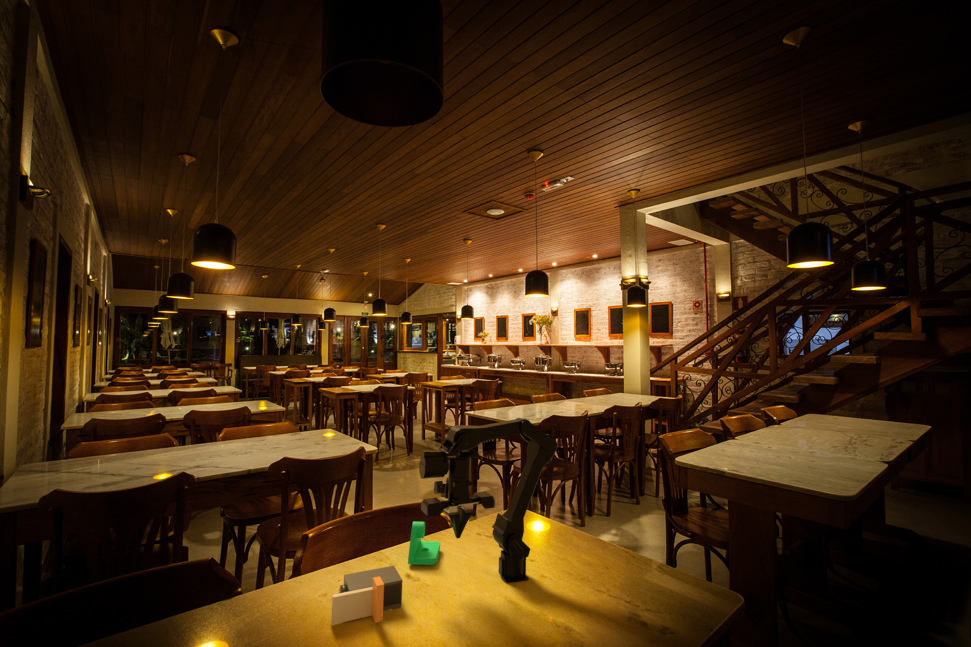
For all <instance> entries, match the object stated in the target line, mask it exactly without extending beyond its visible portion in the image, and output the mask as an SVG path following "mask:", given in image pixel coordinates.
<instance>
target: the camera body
mask: <svg viewBox="0 0 971 647" xmlns="http://www.w3.org/2000/svg"><path fill="white" fill-rule="evenodd" d="M379 576H380V577H381V579H382V581H383V583H384V600H383V612H385V611H390V610H394V609H399V608H402V604H403V578H402V577H401V575H400V573H399V572H398V569H397V568H396V567H395V565H388V566H384V567H379V568H373V569H368V570H362V571H357V572H351V573H346V574H343V584H340V585H339V589H338V590H339V592H338V594H339V593H344V592H349V591H354V590H359V589H363V588H368V587H372V586H373V578H374V577H379Z"/></svg>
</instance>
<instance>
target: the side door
mask: <svg viewBox="0 0 971 647" xmlns="http://www.w3.org/2000/svg"><path fill="white" fill-rule="evenodd" d="M383 600H384V583H383V581H382V579H381V577H380V576H379V577H374V578H373V586H372V587H368V588H363V589H359V590H354V591H349V592H344V593H339V592H338V593H335V594H332V595H331V607H330V609H331V611H330V625H336V624H341V623H346V622H349V621H355V620H358V619H363V618H366V617H372V620H373V621H374V623H375V624H376V623H381V622H383V618H384V616H383V615H384V611H383Z"/></svg>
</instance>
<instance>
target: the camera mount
mask: <svg viewBox="0 0 971 647" xmlns="http://www.w3.org/2000/svg"><path fill="white" fill-rule="evenodd" d="M425 534H426V522H425V521H412V526H411V533H410V538H409V539H410V540H409V547H408V548H409V549H408V557H407V565H431V566H432V565H435V564H436V563H437V562H438V559H439V556H440V551H441V542H440V541H437V540H434V541H433V540H431V541H430V540H421V539H424V538H425Z"/></svg>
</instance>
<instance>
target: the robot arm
mask: <svg viewBox="0 0 971 647" xmlns="http://www.w3.org/2000/svg"><path fill="white" fill-rule="evenodd" d="M517 435H520V436H521V438H522V439H523V440H524V441H526V442H527V444H526V446H527V447H526V462H525V464H524V467H523V469H522V472H521V474H520V477H519V480H518V482H517V484H516V487H515V490H514V493H513V495H512V496H511V497H512V498H511V500H510V503H509V505H508V508H507V510H506V511H505V512H504V513H503V514H501V513H499V512H498V513H497V515H496V517H495V521H494V522H493V525H492V526H491V528H492V537H493V540H495V542H496V543H497V544H498V547H499V548H500V549H502V550H500V556H499V557H498V570H497V571H498V573H499V575H500V577H502V580H503V581H504V582H505V583H514V582H521V581H528V580H529V576H528V575H527V558H528V557H529V555H530V552H531V548H530V547H529V546H528V544H526V543H525V542H524V540H523V539H524V534H525V516H526V513H527V511H528V507H529V506H530V504H531V503H530V502H531V500H532V497H533V495H534V492H535V490H536V486H537V484H538V481H539V480H540V479H539V478H540V476H541V473H542V471H543V469H544V467H545V466H546V465H547V464H548V463H549V462H550V461H552V459H553V457H554V455H555V453H556V451H557V449H558V442H557V440H556V437H555V436H554V435H552V434H549V433H546V432H544V431H543V430H541V429H540V427H539V428H538V427H537V426H536V425H534V424H533V423H532V422H531V421H530V420H528V419H526V418H523V417H522V418H521V417H517V418H516V419H511V420H510V419H509V420H504V421H498V422H494V423H489V424H484V425H469V424H467V425H465V424H464V425H463V424H461V425H459V424H457V425H456V424H455V425H453V426H452V427H450V429H448V431H447V434H446V438H445V440H444V441H443V442H442V444H441V445H440V446H439V448H438V449H437V450H428V449H423V450H421V452H422V453H421V456H420V460H419V462H418V471H419V476H420V479H423V480H425V479H436V478H437V479H438V478H445V476H446V475H448V476H447V477H446V481H445V483H444V482H443V481H442V480H436V481H434V483H433V484H434V485H433V492H434V495H439V494H440V498H444V499H446V500H440V499H439V498H438V497H431V498H430V497H429V498H423V500H422V501H421V503H420V510H421V512H422V513H424V514H425V515H426V516H427V517H430V518H431V517H436V516H441V515H442V514H443V513H444V514H445V515H447V517H448V518H449V521H450V523H451V525H452V526H451V527H452V529H453V533H454V536H455V538H456V539H460V538H461V537H462V534H463V532H464V530H465V528H466V526H467V524H468V522H469V520H471V517H472V515H475V514H476V510H474V506H477V505H481V506H482V507H483V508H484V509H485V510H486V509H487V510H488V509H493V508H495V507H496V500H495V497H494V495H492V494H490V493H488V492H487V491H478V492H474V493H473V494H472V496H471V486H473V481H472V480H471V467H472V466H471V464H472V463H471V459H478V458H479V456H480V455H479V454H477V452H475V450H474V448H476V447H478V446H480V445H481V444H482V443H485V442H487V441H493V440H498V439H503V438H508V437H513V436H517Z"/></svg>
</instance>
